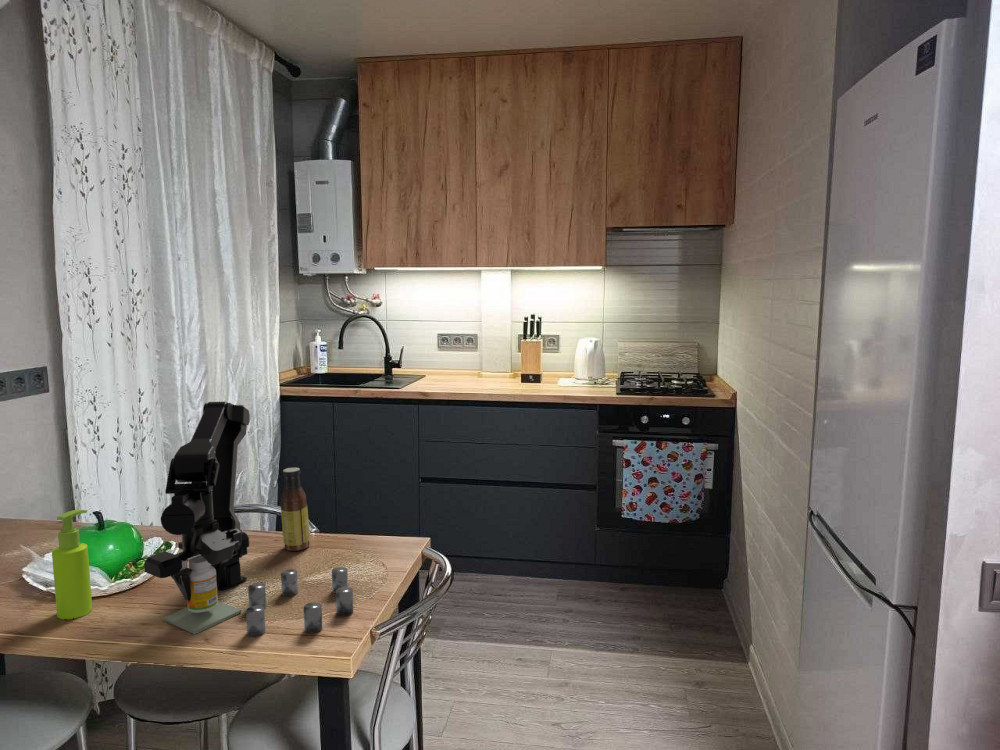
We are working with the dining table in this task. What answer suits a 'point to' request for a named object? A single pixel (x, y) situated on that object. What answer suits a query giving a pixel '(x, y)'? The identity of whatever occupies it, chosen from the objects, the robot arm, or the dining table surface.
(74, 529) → the soap dispenser
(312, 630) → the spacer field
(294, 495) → the sauce bottle
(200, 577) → the supplement bottle
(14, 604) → the dining table surface
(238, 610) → the mat
